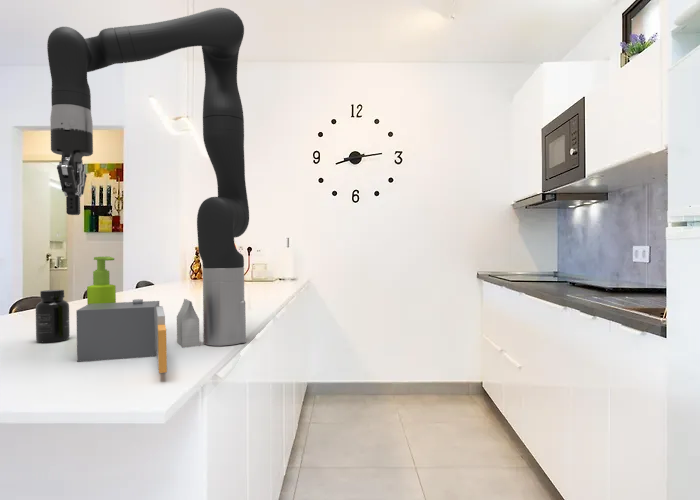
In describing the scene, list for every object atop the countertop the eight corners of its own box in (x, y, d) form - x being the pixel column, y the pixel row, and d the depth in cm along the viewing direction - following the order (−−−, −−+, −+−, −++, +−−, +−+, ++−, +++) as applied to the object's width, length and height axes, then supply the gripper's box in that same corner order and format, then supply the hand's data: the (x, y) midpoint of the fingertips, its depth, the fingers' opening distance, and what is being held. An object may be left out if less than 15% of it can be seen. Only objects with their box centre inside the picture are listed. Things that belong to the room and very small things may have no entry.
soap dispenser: (99, 345, 106) (98, 257, 106) (82, 342, 110) (81, 256, 110) (124, 341, 111) (122, 256, 111) (107, 338, 115) (106, 256, 115)
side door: (156, 352, 96) (156, 306, 96) (163, 352, 97) (162, 306, 97) (159, 379, 78) (158, 321, 77) (166, 378, 78) (166, 320, 78)
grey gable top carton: (182, 347, 104) (181, 302, 104) (177, 342, 110) (176, 299, 109) (199, 345, 106) (198, 301, 105) (193, 340, 111) (192, 298, 111)
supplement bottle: (75, 339, 114) (74, 289, 114) (44, 344, 108) (43, 292, 108) (60, 336, 118) (60, 288, 117) (30, 341, 112) (29, 291, 112)
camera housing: (160, 343, 108) (159, 296, 108) (154, 356, 96) (154, 303, 96) (92, 348, 104) (91, 299, 104) (77, 361, 92) (76, 306, 92)
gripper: (60, 136, 103) (62, 216, 103) (40, 121, 90) (42, 212, 90) (99, 138, 105) (100, 216, 105) (84, 124, 92) (86, 212, 93)
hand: (73, 214), depth 98 cm, fingers closed
